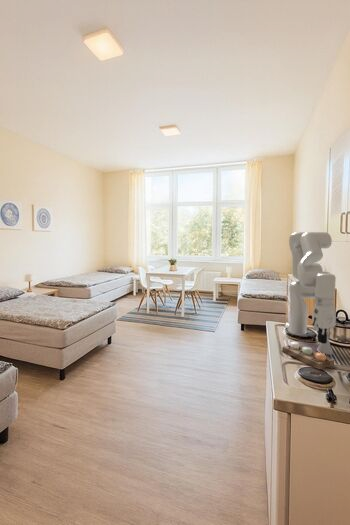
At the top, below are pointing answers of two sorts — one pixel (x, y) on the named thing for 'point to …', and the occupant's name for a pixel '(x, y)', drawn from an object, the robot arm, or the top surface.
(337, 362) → the top surface
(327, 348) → the flask
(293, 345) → the button
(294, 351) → the panel
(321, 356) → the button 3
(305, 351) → the button
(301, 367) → the top surface
